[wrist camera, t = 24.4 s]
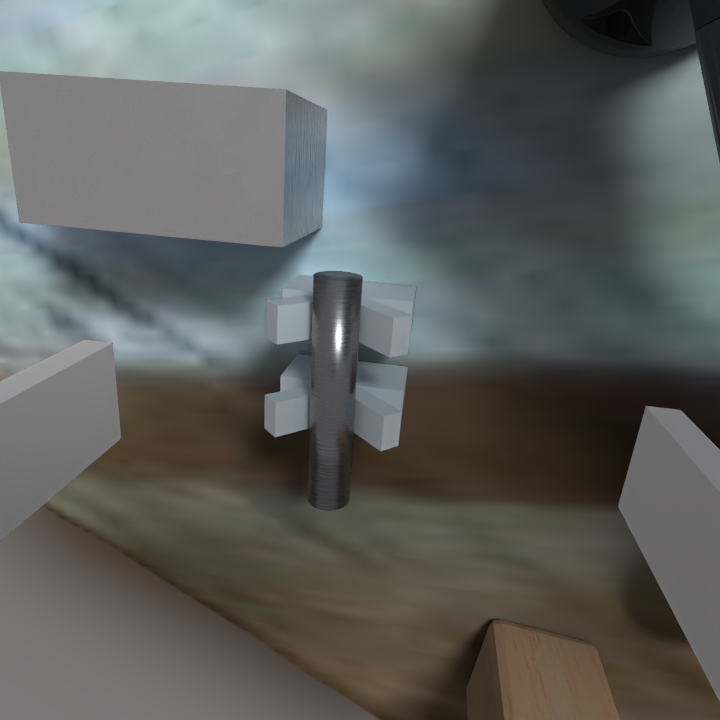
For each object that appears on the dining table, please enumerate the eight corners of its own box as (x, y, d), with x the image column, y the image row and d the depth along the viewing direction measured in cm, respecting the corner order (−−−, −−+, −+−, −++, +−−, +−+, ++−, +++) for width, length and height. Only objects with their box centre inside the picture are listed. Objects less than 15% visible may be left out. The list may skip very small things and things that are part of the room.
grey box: (110, 95, 40) (-2, 71, 30) (327, 109, 38) (286, 89, 28) (119, 209, 42) (19, 222, 32) (321, 227, 41) (282, 247, 31)
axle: (320, 269, 35) (307, 278, 32) (366, 273, 34) (357, 283, 32) (314, 482, 41) (302, 506, 38) (353, 489, 40) (344, 513, 37)
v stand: (298, 274, 42) (260, 304, 33) (417, 286, 41) (411, 320, 32) (295, 382, 45) (259, 435, 36) (405, 395, 44) (397, 453, 35)
